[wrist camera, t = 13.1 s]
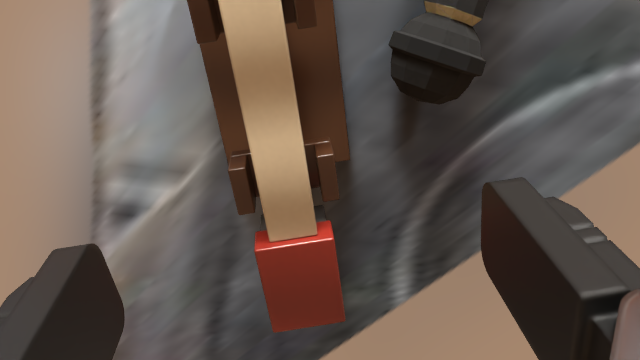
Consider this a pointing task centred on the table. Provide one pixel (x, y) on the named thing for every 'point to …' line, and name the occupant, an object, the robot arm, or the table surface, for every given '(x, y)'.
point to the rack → (310, 85)
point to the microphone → (438, 51)
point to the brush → (281, 173)
